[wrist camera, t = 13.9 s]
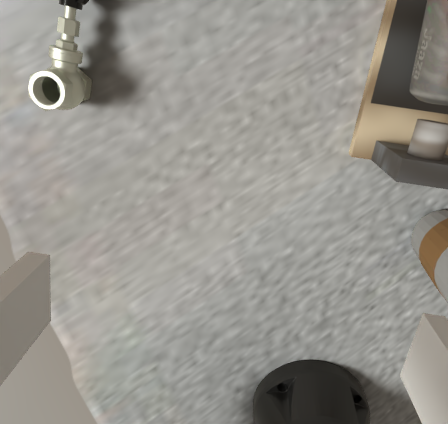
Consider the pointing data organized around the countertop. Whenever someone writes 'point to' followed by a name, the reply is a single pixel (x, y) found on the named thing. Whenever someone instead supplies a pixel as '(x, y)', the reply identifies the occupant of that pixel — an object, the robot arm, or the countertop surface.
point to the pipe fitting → (432, 56)
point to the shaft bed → (401, 106)
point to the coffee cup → (433, 247)
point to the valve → (62, 67)
